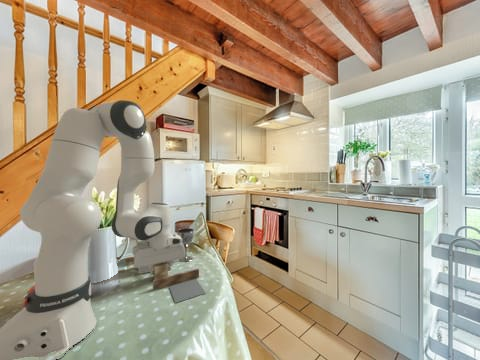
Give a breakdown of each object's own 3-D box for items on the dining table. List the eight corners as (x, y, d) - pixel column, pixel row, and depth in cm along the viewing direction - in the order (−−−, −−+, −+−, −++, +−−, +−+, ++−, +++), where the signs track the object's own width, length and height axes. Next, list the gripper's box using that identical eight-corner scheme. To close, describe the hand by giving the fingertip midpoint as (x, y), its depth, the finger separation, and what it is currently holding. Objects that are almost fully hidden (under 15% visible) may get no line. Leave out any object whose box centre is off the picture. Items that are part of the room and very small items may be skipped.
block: (155, 281, 82) (155, 267, 82) (153, 276, 87) (153, 262, 86) (168, 278, 85) (167, 264, 85) (165, 273, 89) (165, 259, 89)
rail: (153, 290, 77) (153, 281, 76) (153, 288, 77) (152, 280, 77) (199, 277, 86) (199, 269, 86) (198, 276, 87) (198, 268, 86)
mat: (175, 303, 69) (175, 302, 69) (169, 287, 78) (169, 286, 78) (205, 293, 75) (205, 292, 75) (196, 279, 84) (196, 278, 84)
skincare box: (152, 271, 90) (152, 239, 90) (137, 274, 88) (137, 241, 87) (152, 263, 98) (151, 233, 97) (138, 266, 95) (137, 235, 94)
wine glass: (191, 262, 99) (191, 232, 99) (175, 262, 99) (175, 232, 99) (195, 255, 107) (195, 228, 106) (180, 255, 107) (180, 227, 107)
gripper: (132, 247, 77) (133, 282, 78) (186, 238, 87) (186, 269, 88) (132, 242, 83) (132, 275, 83) (182, 234, 93) (182, 263, 94)
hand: (160, 272), depth 86 cm, fingers closed on block, 5 cm apart
